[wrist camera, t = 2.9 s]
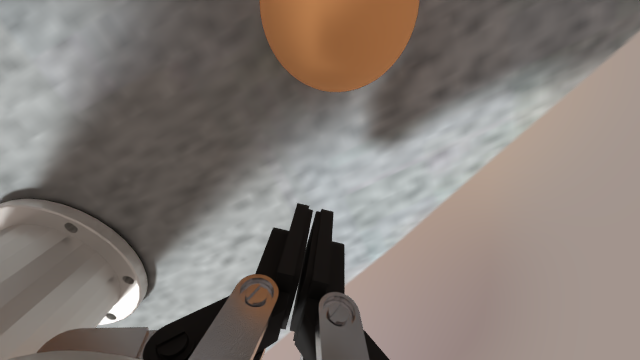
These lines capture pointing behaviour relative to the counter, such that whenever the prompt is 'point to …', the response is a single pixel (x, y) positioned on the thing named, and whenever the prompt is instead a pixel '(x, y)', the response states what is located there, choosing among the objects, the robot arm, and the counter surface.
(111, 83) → the counter surface
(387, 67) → the ball
